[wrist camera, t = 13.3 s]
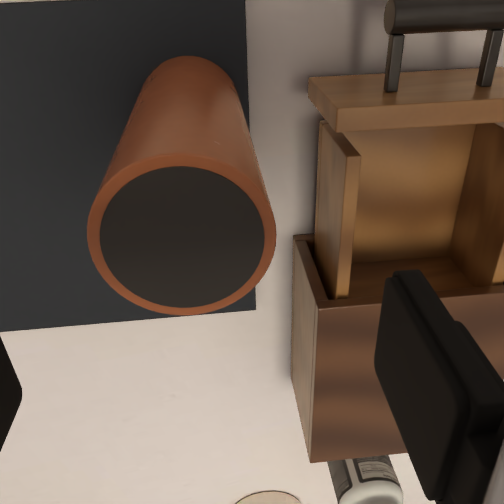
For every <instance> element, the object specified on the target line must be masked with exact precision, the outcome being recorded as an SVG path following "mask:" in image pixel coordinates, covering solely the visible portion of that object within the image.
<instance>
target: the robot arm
mask: <svg viewBox="0 0 504 504" xmlns="http://www.w3.org/2000/svg"><path fill="white" fill-rule="evenodd" d="M374 368H375V372H376V375H377V377H378V380H379V382H380V385H381V387H382V390H383V392H384V395H385V397H386V399H387V402H388V404H389V407H390V409H391V412H392V414H393V417H394V419H395V422H396V424H397V427H398V429H399V432H400V434H401V437H402V439H403V442H404V444H405V447H406V449H407V452H408V454H409V457H410V459H411V462H412V464H413V467H414V469H415V472H416V474H417V476H418V479H419V481H420V484H421V486H422V489H423V491H424V494H425V496H426V497H427V499H428V500H430V501H431V500H435V502H436V504H504V382H503V380H502V379H501V377H500V376H499V374H498V373H497V371H496V370H495V368H494V367H493V366H492V364H491V363H490V361H489V360H488V358H487V357H486V355H485V354H484V353H483V351H482V350H481V348H480V347H479V345H478V344H477V343H476V341H475V340H474V338H473V337H472V335H471V334H470V332H469V331H468V330H467V328H466V327H465V326H464V325H463V324H462V323H461V322H459V321H454V319H453V318H452V316H451V315H450V313H449V312H448V310H447V309H446V307H445V306H444V304H443V303H442V301H441V300H440V298H439V297H438V295H437V294H436V292H435V291H434V289H433V288H432V286H431V285H430V284H429V282H428V281H427V279H426V278H425V276H424V275H423V273H422V272H421V271H420V270H418V269H414V270H400V271H395V272H394V273H393V275H392V277H388V278H386V280H385V285H384V292H383V299H382V305H381V312H380V319H379V326H378V333H377V340H376V347H375V354H374ZM21 400H22V388H21V385H20V382H19V380H18V378H17V375H16V373H15V370H14V368H13V366H12V363H11V361H10V359H9V356H8V354H7V351H6V349H5V347H4V344H3V342H2V339H1V337H0V451H1V449H2V446H3V444H4V442H5V439H6V437H7V434H8V432H9V430H10V427H11V425H12V422H13V420H14V418H15V415H16V413H17V410H18V408H19V406H20V403H21Z"/></svg>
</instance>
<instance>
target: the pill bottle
mask: <svg viewBox="0 0 504 504" xmlns="http://www.w3.org/2000/svg"><path fill="white" fill-rule="evenodd" d="M327 463H328V466H329V470H330V474H331V478H332V482H333V486H334V490H335V493H336V497H337V501H338V504H403V492H402V489H401V486H400V484H399V481H398V479H397V476H396V474H395V471H394V469H393V466H392V464H391V461H390V458H389V456H388V455H381V456H372V457H363V458H354V459H345V460H335V461H327Z"/></svg>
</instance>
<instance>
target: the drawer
mask: <svg viewBox="0 0 504 504" xmlns="http://www.w3.org/2000/svg"><path fill="white" fill-rule="evenodd" d="M384 28H385V32H386V33H387V34H388V35H389V43H388V52H387V61H386V70H385V73H380V74H362V75H343V76H325V77H310V78H309V80H308V98H309V99H310V101H311V102H312V103H313V104H314V106H315V107H316V108H317V109H318V111H319V112H320V113H321V115H322V116H323V117H324V118H325V120H321V121H320V124H319V146H318V169H317V192H316V215H315V237H314V260H313V261H314V263H315V266H316V269H317V271H318V274H319V277H320V279H321V282H322V284H323V287H324V290H325V292H326V295H327V298H328V300H335V299H347V298H358V297H370V296H382V295H383V292H384V285H385V280H386V278H388V277H392V275H393V273H394V272H395V271H400V270H414V269H418V270H420V271H421V272H422V273H423V275H424V276H425V278H426V279H427V281H428V282H429V284H430V285H431V286H432V288H433V289H434V291H440V290H451V289H463V288H474V287H486V286H498V285H503V283H504V67H496V64H497V59H498V55H499V51H500V46H501V42H502V37H503V33H504V30H502V29H504V0H388V2H387V4H386V7H385V12H384ZM475 30H487V33H486V38H485V43H484V48H483V52H482V57H481V62H480V66H479V68H471V69H453V70H434V71H416V72H400V68H401V61H402V53H403V45H404V37H405V36H404V35H403V34H414V33H435V32H455V31H475Z"/></svg>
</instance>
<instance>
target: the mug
mask: <svg viewBox="0 0 504 504" xmlns="http://www.w3.org/2000/svg"><path fill="white" fill-rule="evenodd" d="M237 504H300V502H299V501H298V500H297V499H296V498H295V497H293V496H291V495H289V494H286V493H281V492H262V493H258V494H253V495H251V496H248V497H246V498H244V499H242V500H241V501H239V502H238V503H237Z"/></svg>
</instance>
